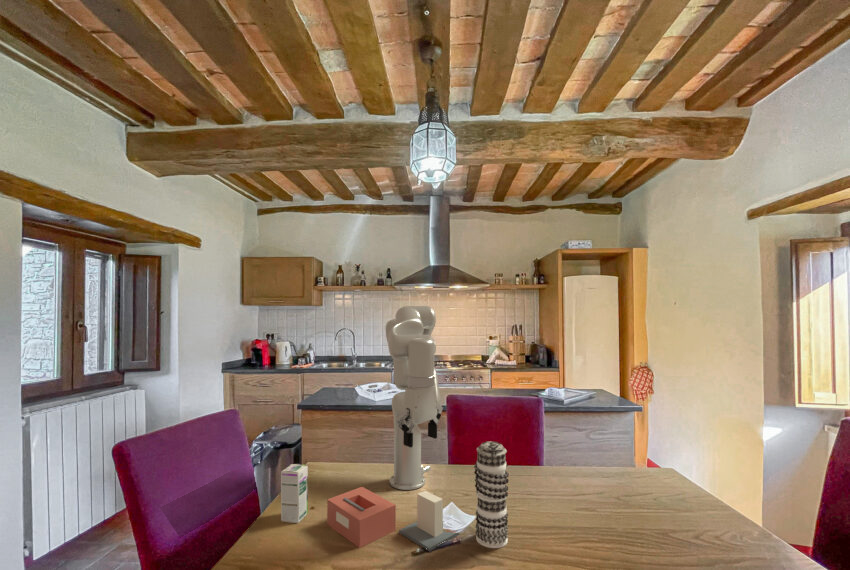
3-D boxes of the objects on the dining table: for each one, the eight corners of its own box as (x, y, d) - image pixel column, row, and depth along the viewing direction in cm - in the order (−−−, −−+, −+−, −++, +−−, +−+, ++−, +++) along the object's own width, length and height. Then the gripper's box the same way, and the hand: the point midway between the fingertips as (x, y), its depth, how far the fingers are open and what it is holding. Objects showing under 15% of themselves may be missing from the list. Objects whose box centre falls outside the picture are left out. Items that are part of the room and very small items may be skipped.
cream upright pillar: (425, 523, 119) (425, 490, 119) (442, 532, 114) (442, 499, 114) (417, 526, 117) (417, 494, 117) (434, 537, 112) (434, 502, 112)
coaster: (430, 517, 123) (430, 514, 123) (460, 533, 115) (460, 530, 115) (399, 532, 115) (399, 529, 115) (429, 551, 106) (429, 548, 107)
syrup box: (298, 523, 120) (299, 472, 120) (279, 521, 121) (280, 470, 122) (308, 513, 125) (308, 464, 126) (290, 511, 127) (290, 463, 127)
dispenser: (361, 510, 128) (362, 485, 128) (395, 530, 116) (395, 503, 117) (326, 524, 119) (326, 498, 120) (359, 548, 108) (359, 519, 108)
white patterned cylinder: (473, 529, 117) (472, 438, 118) (506, 530, 117) (505, 439, 118) (475, 548, 108) (475, 450, 109) (512, 549, 107) (511, 450, 109)
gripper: (432, 375, 128) (432, 431, 128) (389, 384, 116) (388, 445, 116) (451, 379, 123) (450, 437, 123) (407, 388, 111) (407, 453, 111)
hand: (420, 441), depth 120 cm, fingers open, 9 cm apart
